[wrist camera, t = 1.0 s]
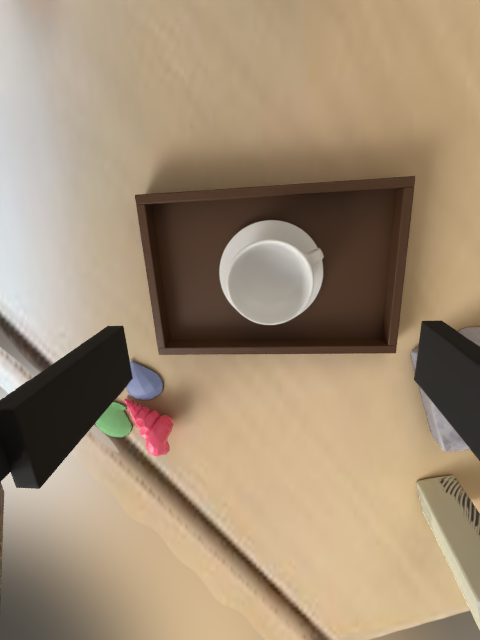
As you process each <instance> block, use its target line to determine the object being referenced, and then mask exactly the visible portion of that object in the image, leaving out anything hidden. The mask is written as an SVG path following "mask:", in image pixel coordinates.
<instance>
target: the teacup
mask: <svg viewBox="0 0 480 640" xmlns="http://www.w3.org/2000/svg"><path fill="white" fill-rule="evenodd" d="M323 258H324V256H323V253H322V251H321V249H320V248H317V246H316V244H315V243H314V241H313V240H312V239H311V237H310V236H309V235H308V234H307V233H305V232H304V231H303V230H302V229H300V228H298V227H297V226H295V225H293V224H290V223H287V222H283V221H277V220H267V221H260V222H257V223H254V224H251V225H249V226H247V227H245V228H244V229H242V230H241V231H239V232H238V233H237V234H236V235H235V236H234V237H233V238H232V239H231V240H230V242H229V243H228V244H227V246H226V248H225V250H224V252H223V255H222V258H221V262H220V269H219V276H220V283H221V287H222V290H223V292H224V294H225V296H226V298H227V300H228V301H229V302H230V304H231V305H232V306H233V307H234V308H235V309H236V310H237V311H238V312H239V313H240V314H241V315H242V316H244V317H245V318H247V319H249V320H250V321H253V322H255V323H259V324H264V325H276V324H281V323H284V322H287V321H289V320H291V319H293V318H295V317H296V316H298V315H299V314H301V313H302V312H303V311H305V310H306V309H307V308H308V307H309V306H310V305H311V304H312V302H313V301H314V299H315V298H316V296H317V294H318V292H319V290H320V287H321V284H322V279H323V262H322V259H323Z"/></svg>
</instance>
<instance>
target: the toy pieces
mask: <svg viewBox="0 0 480 640" xmlns="http://www.w3.org/2000/svg"><path fill="white" fill-rule="evenodd" d="M130 366H131V371H132V377H133V379H132V380H131V381H130V382H129V384H128V385H127V386H126V388H127V390H128V393H129V394H130V395H131V396H133V397H134V398H135V399H140V400H151V399H153V398H155V397H156V396H158V394H159V393H160V392H161V391H162V389H163V382H162V381H161V379H160V377H159V376H158V374H156V373H155V372H153V371H151V370H149V369H148V368H145V367H143V366H141V365H138V364H137V363H135V362H133V361H131V362H130ZM120 394H121V393H120ZM120 394H119V395H120ZM124 402H125V404H126V405H127V407H128V409H129V410H130V414H132V417H133V420H134V421H135V423H136V427H137V428H140V434H141V437H143V438H145V440H146V447H147V450H148V453H150V454H152V455H153V456H159V455H165V454H167V453H168V451H169V444H168V441H167V438H168V436H169V434H170V432H171V430H172V427H173V420H172V419H171V418H170V417H169V416H167V415H164V416H161V417H160V414H159V413H158V412H157V411H156V410H155V411H151V412H150V409H149V408H147V407H144V408H143V406H142V405H138V404H137V403H134V402H132V401H129V400H127V399H125V400H124ZM125 409H127V408H126V407H125V406H124V405H122V404H120V403H117V402H114V401H113V402H112V404H111V406H110V407H108V408H107V410H106V411H105V412H104V413H103V414H102V415H101V417H100V418H99V419H98V420H97V421H96V425H97V427H98V428H99V429H100V430H101V431H103V432H104V433H106V434H108V435H110V436H114V437H123V436H126V435H128V434H129V433H130V431H131V428H132V425H131V423H130V421H129V419H128V417H127V415H126V414H125V412H124V410H125Z"/></svg>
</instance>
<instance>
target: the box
mask: <svg viewBox="0 0 480 640" xmlns="http://www.w3.org/2000/svg"><path fill="white" fill-rule="evenodd" d="M416 484H417V490H418V495H419V499H420V503H421V507H422V511H423V514H424V515H425V517H426V519H427V521H428V523H429V526H430V528H431V530H432V532H433V534H434V536H435V538H436V540H437V542H438V544H439V546H440V548H441V550H442V553H443V555H444V557H445V559H446V561H447V563H448V565H449V567H450V569H451V571H452V573H453V575H454V578H455V580H456V582H457V584H458V586H459V588H460V590H461V592H462V594H463V596H464V598H465V601H466V603H467V605H468V607H469V609H470V611H471V613H472V615H473V617H474V619H475V621H476V623H477V625H478V627H479V629H480V514H479V512H478V511H477V509H476V508H475V506H474V505H473V503H472V502H471V500H470V499H469V497H468V496H467V494H466V493H465V491H464V490H463V488H462V487H461V485H460V484H459V482H458V481H457V479H456V478H455V476H454V475H450V476H443V477H436V478H430V479H425V480H420V481H417V482H416Z"/></svg>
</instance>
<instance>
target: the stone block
mask: <svg viewBox="0 0 480 640" xmlns="http://www.w3.org/2000/svg"><path fill="white" fill-rule="evenodd" d="M458 332H459V333H460V334H462V335H463V336H465V337H466V338H468V339H469V340H471V341H472V342H474V343H475V344H477V345H478V346H480V327H467V328H463V329H461V330H459V331H458ZM417 355H418V348H415V349H413V350H412V352H411V358H412V363H413V366H414V369H415V370H416V362H417ZM419 388H420V393H421V396H422V400H423V404H424V407H425V411H426V414H427V418H428V422H429V426H430V430H431V432H432V435H433V437H434V439H435V441H436V442H437V443H438V444H439V445H440V447H441V448H442V449H443V450H444V451H461V450H468V449H470V448H469V447H468V446H467V444H466V443H465V442H464V441H463V439H462V438H461V437H460V436H459V435H458V433H457V432H456V431H455V430H454V428H453V427H452V426H451V425H450V423H449V422H448V421H447V420H446V418H445V417H444V416H443V415H442V413H441V412H440V411H439V410H438V409H437V407H436V406H435V405H434V404H433V402H432V401H431V400H430V399H429V397H428V396H427V395H426V394H425V392H424V391H423V390H422V389H421V387H420V386H419Z"/></svg>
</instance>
